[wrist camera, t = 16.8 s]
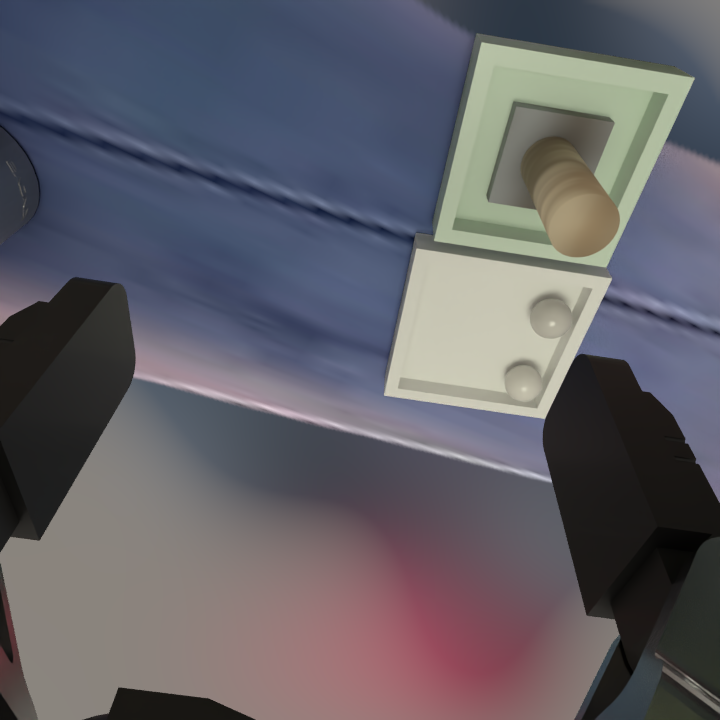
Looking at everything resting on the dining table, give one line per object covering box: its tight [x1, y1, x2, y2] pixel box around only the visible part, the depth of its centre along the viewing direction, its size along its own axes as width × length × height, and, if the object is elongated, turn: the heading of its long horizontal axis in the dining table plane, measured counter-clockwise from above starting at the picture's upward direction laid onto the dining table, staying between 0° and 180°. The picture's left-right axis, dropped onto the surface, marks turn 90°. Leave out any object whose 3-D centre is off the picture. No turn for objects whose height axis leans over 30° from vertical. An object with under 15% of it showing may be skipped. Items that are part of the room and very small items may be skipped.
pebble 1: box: [505, 365, 543, 402], centre depth 46 cm, size 3×3×3 cm
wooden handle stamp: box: [486, 101, 620, 257], centre depth 32 cm, size 6×6×10 cm
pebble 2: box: [530, 299, 572, 339], centre depth 42 cm, size 3×3×3 cm
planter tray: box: [432, 33, 695, 268], centre depth 36 cm, size 12×12×3 cm
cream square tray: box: [384, 233, 612, 419], centre depth 45 cm, size 14×14×2 cm
